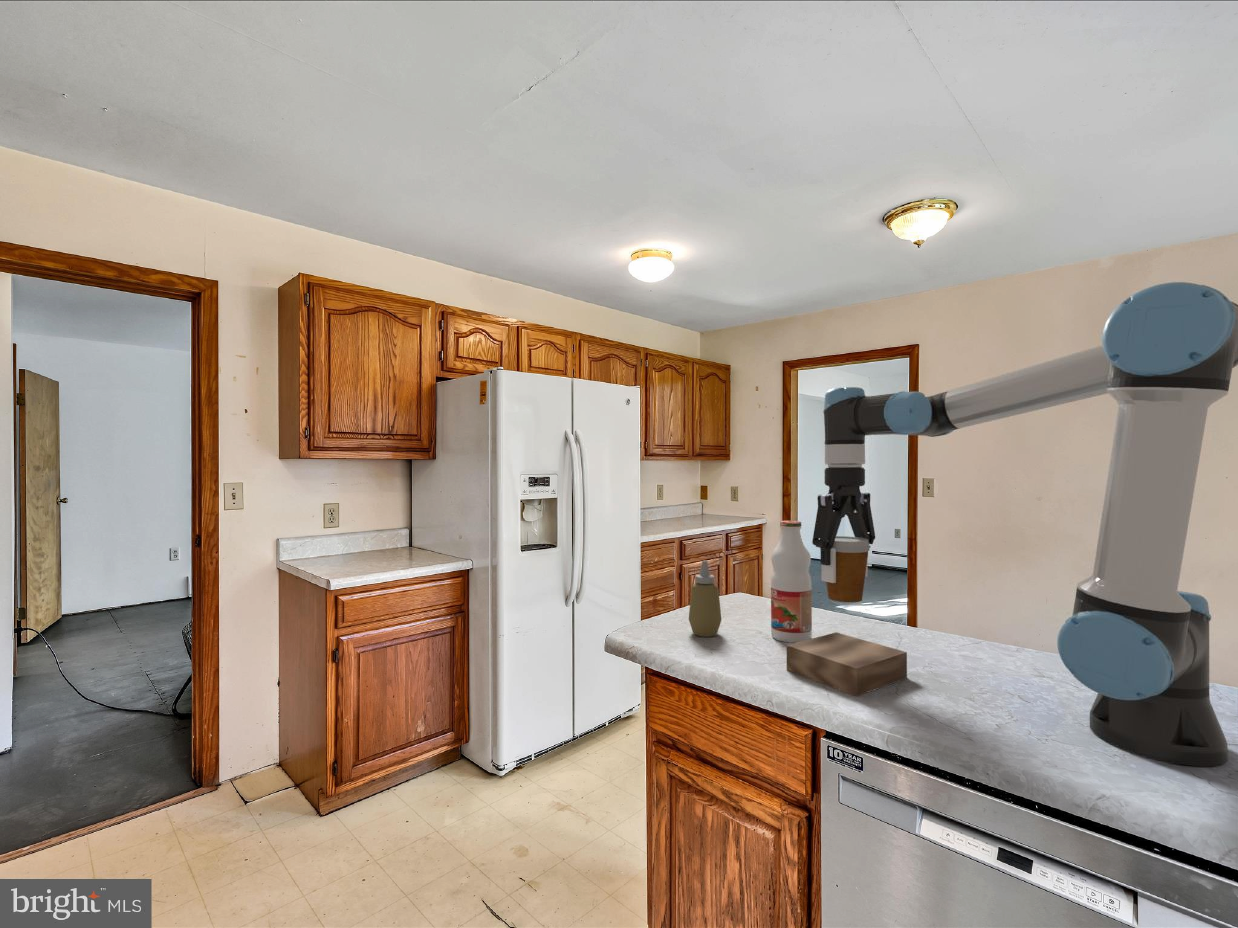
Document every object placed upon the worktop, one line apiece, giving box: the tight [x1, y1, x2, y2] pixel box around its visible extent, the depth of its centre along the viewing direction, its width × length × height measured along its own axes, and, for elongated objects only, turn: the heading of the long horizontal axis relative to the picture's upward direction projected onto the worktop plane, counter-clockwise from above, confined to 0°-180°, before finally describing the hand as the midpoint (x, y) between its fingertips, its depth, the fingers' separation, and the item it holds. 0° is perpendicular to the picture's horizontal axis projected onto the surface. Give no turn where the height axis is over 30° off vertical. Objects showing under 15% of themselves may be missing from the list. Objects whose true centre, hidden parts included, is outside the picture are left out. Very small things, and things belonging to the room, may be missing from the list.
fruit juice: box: [770, 520, 813, 644], centre depth 139 cm, size 9×9×28 cm
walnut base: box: [786, 632, 908, 697], centre depth 115 cm, size 16×16×5 cm
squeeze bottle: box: [688, 560, 722, 638], centre depth 142 cm, size 8×8×18 cm
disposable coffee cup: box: [826, 535, 872, 604], centre depth 115 cm, size 10×10×12 cm
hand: (845, 578), depth 115 cm, fingers closed on disposable coffee cup, 9 cm apart
